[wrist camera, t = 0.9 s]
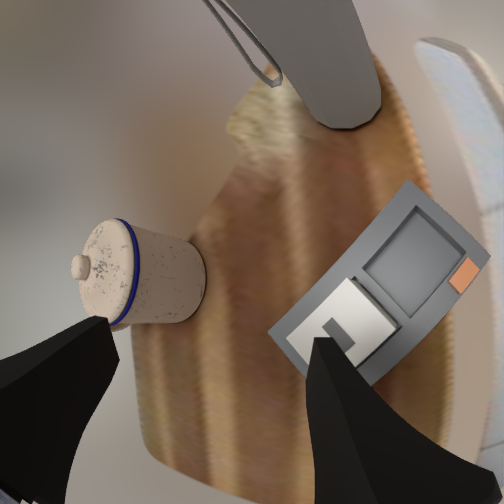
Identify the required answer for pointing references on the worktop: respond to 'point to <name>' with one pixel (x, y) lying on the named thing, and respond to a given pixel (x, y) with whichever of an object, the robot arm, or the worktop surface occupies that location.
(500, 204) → the worktop surface
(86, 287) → the teacup with lid
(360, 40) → the water bottle
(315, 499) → the robot arm
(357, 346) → the block
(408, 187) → the grey divided tray
